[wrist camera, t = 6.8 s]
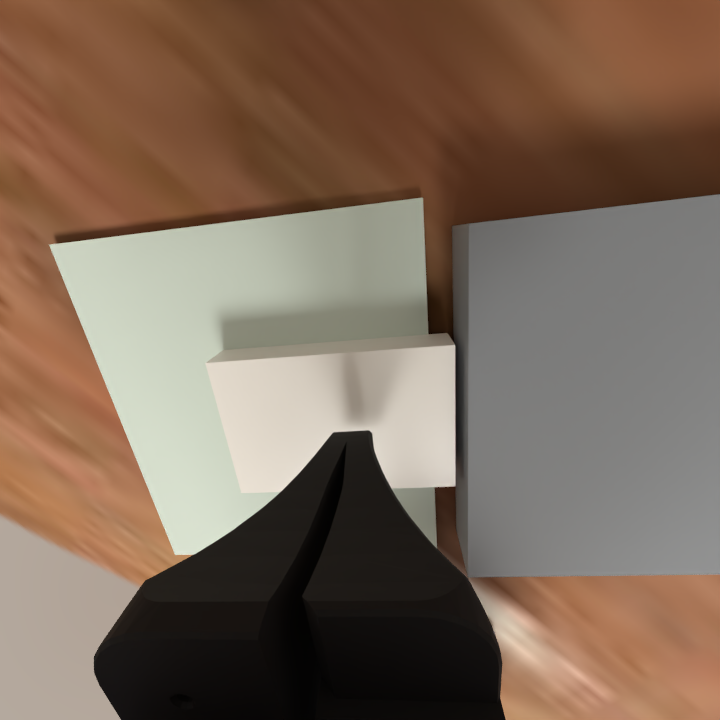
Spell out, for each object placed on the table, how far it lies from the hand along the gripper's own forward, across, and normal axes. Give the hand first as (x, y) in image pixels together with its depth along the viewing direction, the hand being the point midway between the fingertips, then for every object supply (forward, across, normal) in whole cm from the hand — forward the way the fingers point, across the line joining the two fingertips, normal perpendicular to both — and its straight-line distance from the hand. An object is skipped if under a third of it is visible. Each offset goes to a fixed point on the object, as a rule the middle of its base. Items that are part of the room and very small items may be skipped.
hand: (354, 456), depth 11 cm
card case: (+3, +1, 0) cm, 3 cm away
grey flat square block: (+3, -11, 0) cm, 11 cm away
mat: (+3, +4, 0) cm, 5 cm away
